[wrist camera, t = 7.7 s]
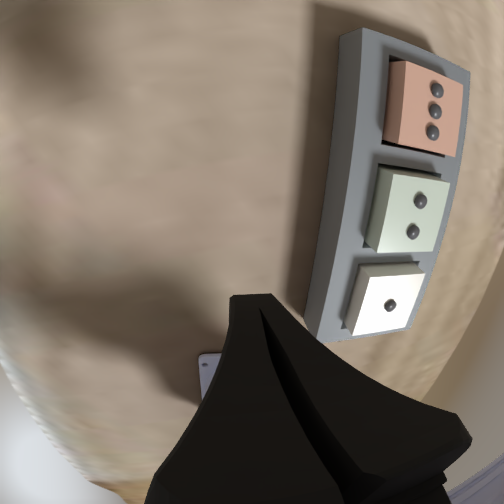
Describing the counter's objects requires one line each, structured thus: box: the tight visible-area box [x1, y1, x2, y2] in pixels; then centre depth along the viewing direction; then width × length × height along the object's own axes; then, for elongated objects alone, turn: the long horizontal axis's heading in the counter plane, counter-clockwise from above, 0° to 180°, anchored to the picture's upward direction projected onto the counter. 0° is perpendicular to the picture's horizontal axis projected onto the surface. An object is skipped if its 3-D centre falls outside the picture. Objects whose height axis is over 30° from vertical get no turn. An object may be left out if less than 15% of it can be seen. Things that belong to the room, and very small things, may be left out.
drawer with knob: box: [343, 261, 425, 336], centre depth 21 cm, size 5×5×4 cm
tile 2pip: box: [364, 163, 450, 253], centre depth 18 cm, size 5×5×4 cm
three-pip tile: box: [382, 61, 463, 157], centre depth 15 cm, size 5×5×4 cm
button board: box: [303, 27, 470, 343], centre depth 19 cm, size 21×9×3 cm, turn 176°
